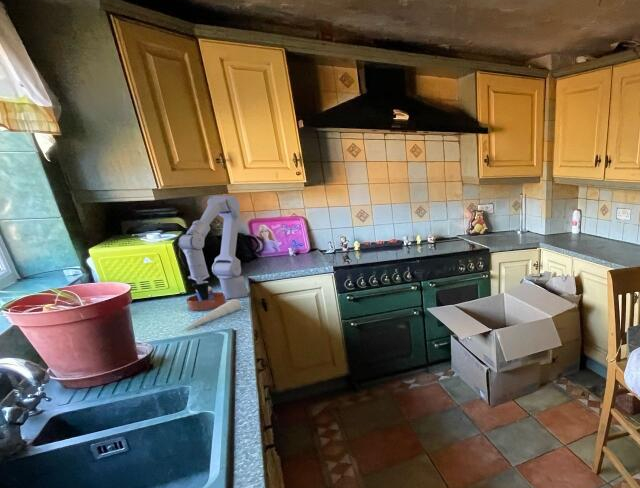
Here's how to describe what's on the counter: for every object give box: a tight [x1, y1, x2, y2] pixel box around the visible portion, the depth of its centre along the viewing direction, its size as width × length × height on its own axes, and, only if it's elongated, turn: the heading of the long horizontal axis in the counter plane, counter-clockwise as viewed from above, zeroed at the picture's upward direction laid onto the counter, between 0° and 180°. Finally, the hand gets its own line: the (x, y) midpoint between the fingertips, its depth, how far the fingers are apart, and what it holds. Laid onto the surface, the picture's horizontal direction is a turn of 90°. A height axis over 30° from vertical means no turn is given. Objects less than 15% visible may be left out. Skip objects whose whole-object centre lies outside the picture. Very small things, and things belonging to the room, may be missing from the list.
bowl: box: [186, 291, 227, 312], centre depth 175 cm, size 13×13×4 cm
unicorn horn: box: [185, 298, 242, 330], centre depth 161 cm, size 5×24×5 cm, turn 165°
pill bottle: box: [195, 281, 214, 301], centre depth 174 cm, size 6×5×10 cm
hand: (205, 297), depth 175 cm, fingers open, 7 cm apart
